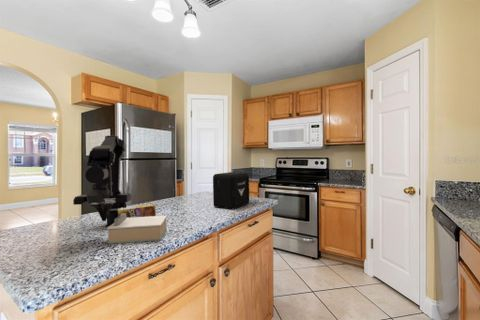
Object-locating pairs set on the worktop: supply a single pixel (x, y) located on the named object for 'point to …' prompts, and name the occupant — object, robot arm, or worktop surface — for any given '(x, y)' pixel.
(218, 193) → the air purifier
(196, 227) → the worktop surface
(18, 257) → the worktop surface
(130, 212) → the candy box
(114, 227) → the lid
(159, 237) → the box
